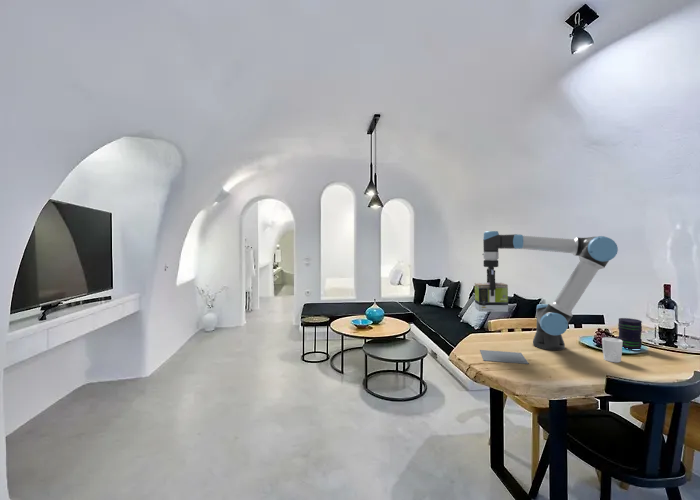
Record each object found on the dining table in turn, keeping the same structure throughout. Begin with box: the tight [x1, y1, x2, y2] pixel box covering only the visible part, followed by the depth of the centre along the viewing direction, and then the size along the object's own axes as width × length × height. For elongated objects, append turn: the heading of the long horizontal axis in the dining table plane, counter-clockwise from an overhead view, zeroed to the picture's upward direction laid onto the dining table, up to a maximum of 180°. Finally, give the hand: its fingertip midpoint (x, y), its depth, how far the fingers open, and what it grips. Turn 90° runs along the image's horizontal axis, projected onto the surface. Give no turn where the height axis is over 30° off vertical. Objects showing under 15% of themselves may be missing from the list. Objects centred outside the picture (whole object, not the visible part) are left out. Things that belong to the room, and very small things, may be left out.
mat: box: [479, 349, 530, 365], centre depth 172 cm, size 20×16×1 cm
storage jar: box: [617, 317, 643, 350], centre depth 185 cm, size 10×10×15 cm
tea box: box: [474, 282, 509, 313], centre depth 187 cm, size 15×10×15 cm, turn 82°
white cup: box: [601, 336, 623, 363], centre depth 166 cm, size 8×8×10 cm
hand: (490, 300), depth 187 cm, fingers closed on tea box, 10 cm apart
